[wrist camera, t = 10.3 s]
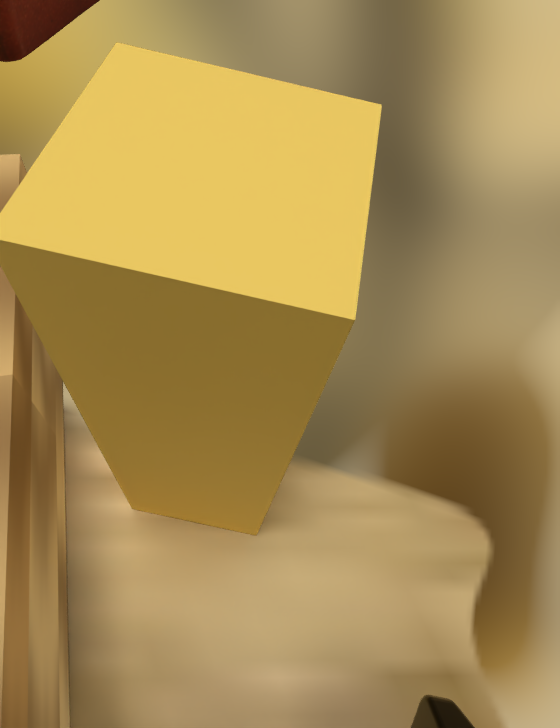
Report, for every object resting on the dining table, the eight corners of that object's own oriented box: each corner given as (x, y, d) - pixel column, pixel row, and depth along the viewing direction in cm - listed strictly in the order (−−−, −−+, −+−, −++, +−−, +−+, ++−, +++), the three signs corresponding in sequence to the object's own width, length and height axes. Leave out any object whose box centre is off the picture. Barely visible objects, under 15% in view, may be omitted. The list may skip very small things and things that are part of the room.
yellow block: (256, 535, 16) (354, 319, 5) (132, 508, 15) (-16, 236, 5) (278, 421, 18) (381, 104, 7) (169, 397, 18) (116, 42, 7)
